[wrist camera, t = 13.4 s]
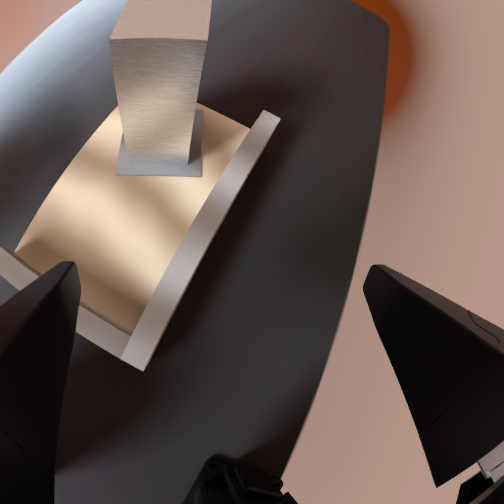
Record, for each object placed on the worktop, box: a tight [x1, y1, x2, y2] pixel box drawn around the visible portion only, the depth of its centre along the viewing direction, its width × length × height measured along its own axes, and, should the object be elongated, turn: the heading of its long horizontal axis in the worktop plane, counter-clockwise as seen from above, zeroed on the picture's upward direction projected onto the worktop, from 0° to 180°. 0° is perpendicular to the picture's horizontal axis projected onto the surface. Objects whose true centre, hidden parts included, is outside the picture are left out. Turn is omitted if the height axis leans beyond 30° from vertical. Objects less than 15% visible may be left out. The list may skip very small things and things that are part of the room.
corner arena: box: [0, 103, 280, 371], centre depth 20 cm, size 20×13×4 cm, turn 154°
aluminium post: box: [109, 0, 212, 165], centre depth 17 cm, size 4×4×12 cm
